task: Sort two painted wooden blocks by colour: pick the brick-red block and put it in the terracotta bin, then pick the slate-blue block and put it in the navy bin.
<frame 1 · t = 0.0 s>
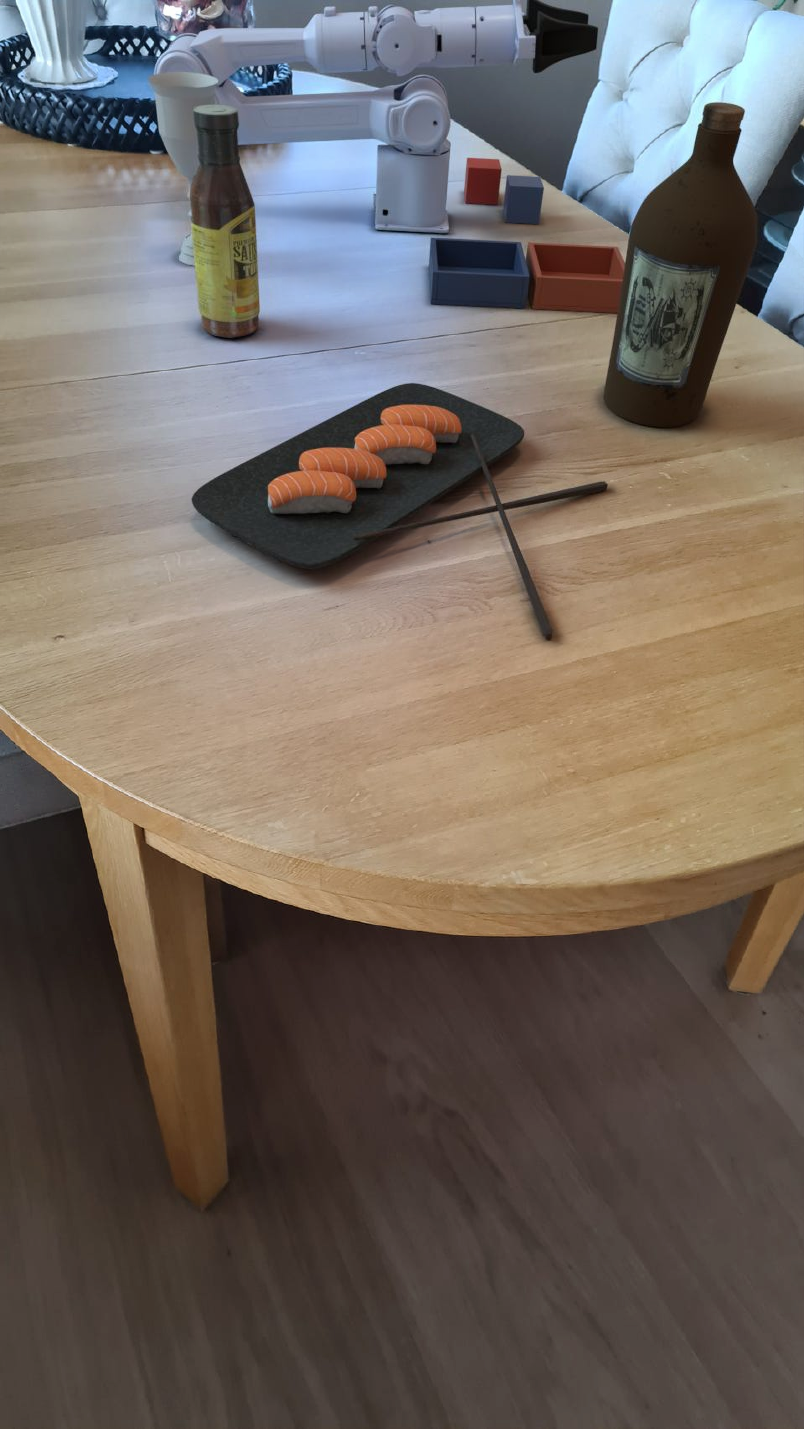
hand: (592, 31, 112), 22 cm above the table, tool horizontal, fingers open, 7 cm apart
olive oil: (649, 406, 93), on the table
red bin: (573, 292, 112), on the table
blue bin: (475, 287, 112), on the table
chalice: (200, 259, 114), on the table
sauce bottle: (231, 329, 101), on the table
red block: (480, 199, 134), on the table
sushi plate: (440, 519, 78), on the table
blue block: (520, 217, 130), on the table
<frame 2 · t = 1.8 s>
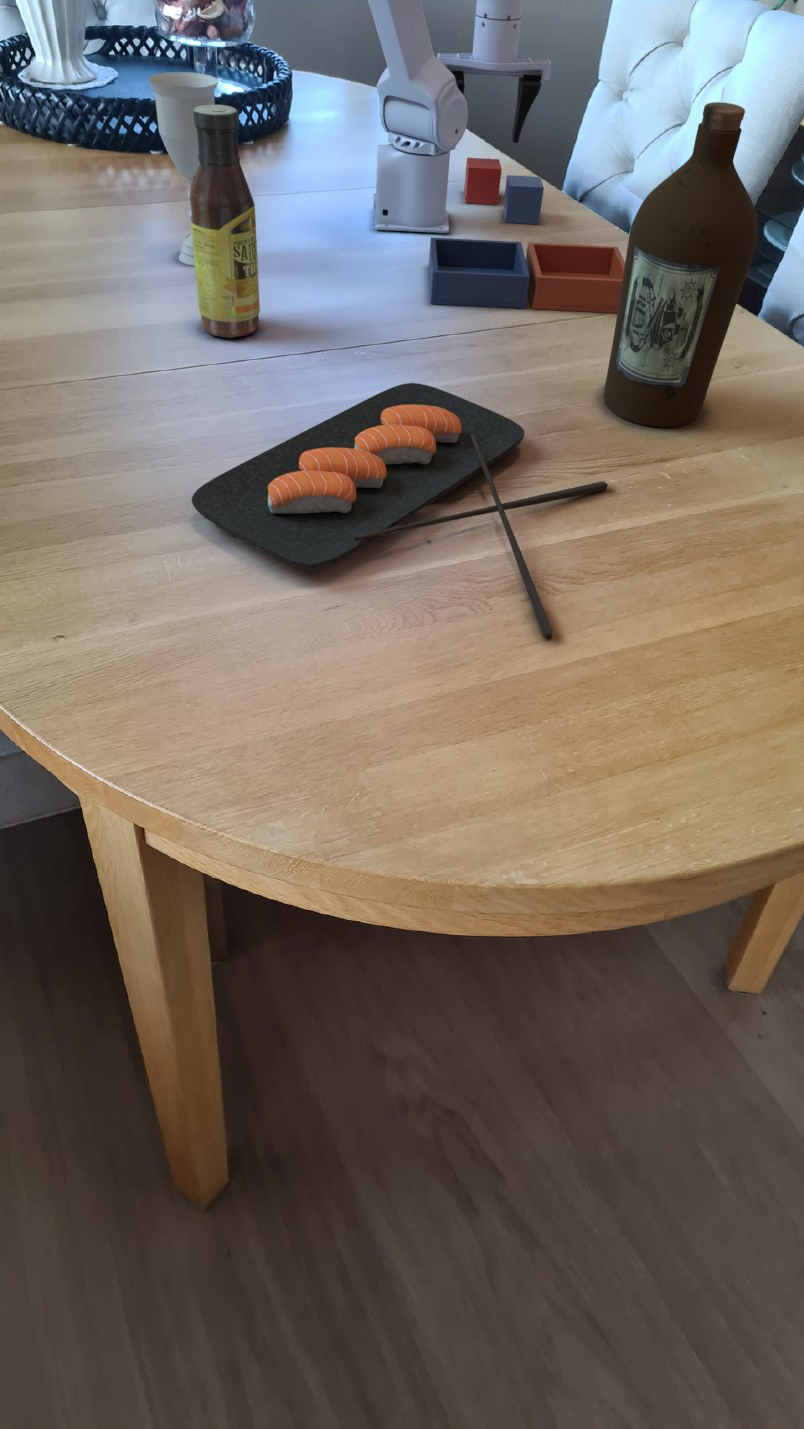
hand: (486, 139, 129), 7 cm above the table, tool pointing down, fingers open, 7 cm apart
nothing on the table moved.
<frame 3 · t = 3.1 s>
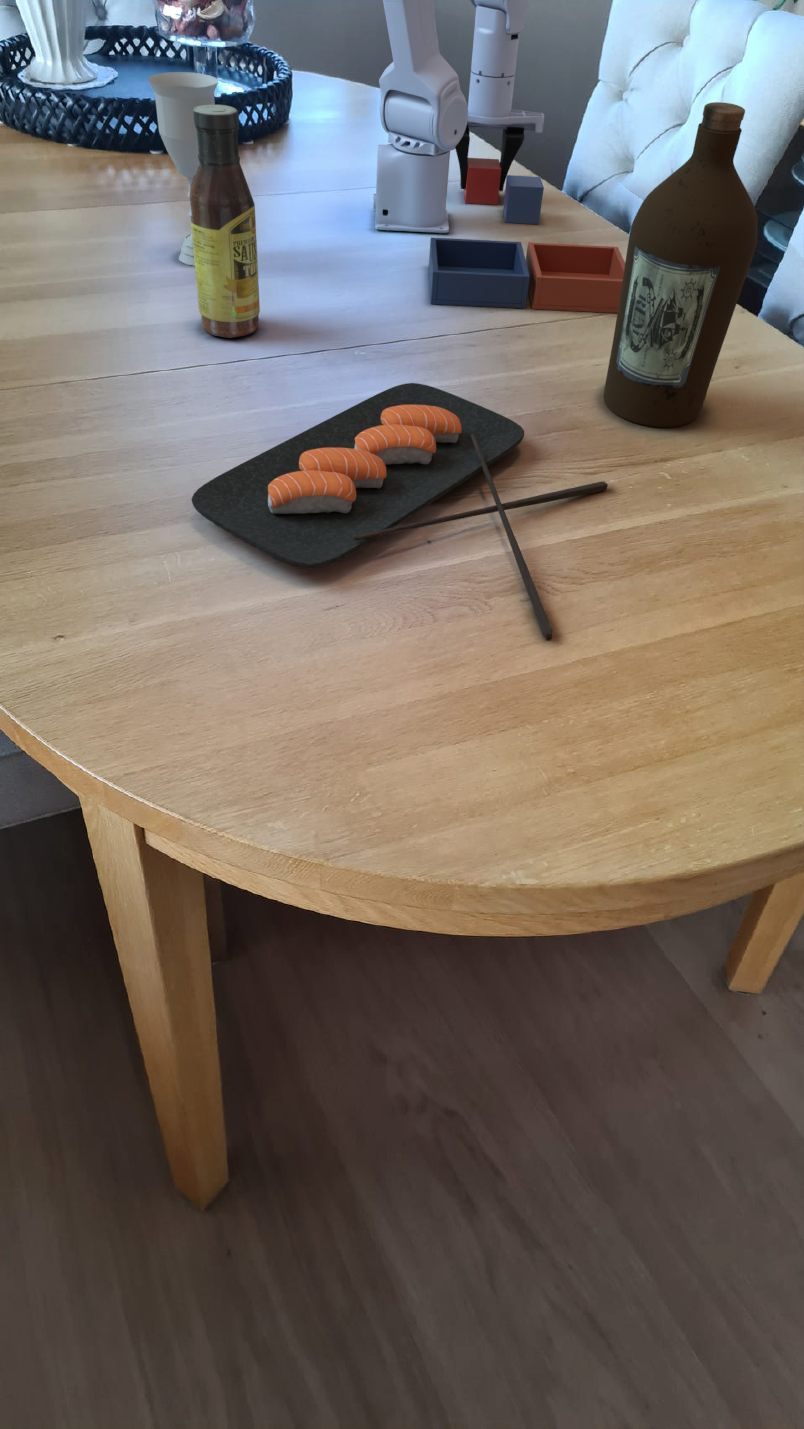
hand: (481, 188, 133), 1 cm above the table, tool pointing down, fingers closed on red block, 4 cm apart
red block: (480, 199, 134), on the table, touching gripper
everything else where it was.
when the fingers open (2 cm above the table, at t = 9.0 s): red block stays where it is, resting on red bin.
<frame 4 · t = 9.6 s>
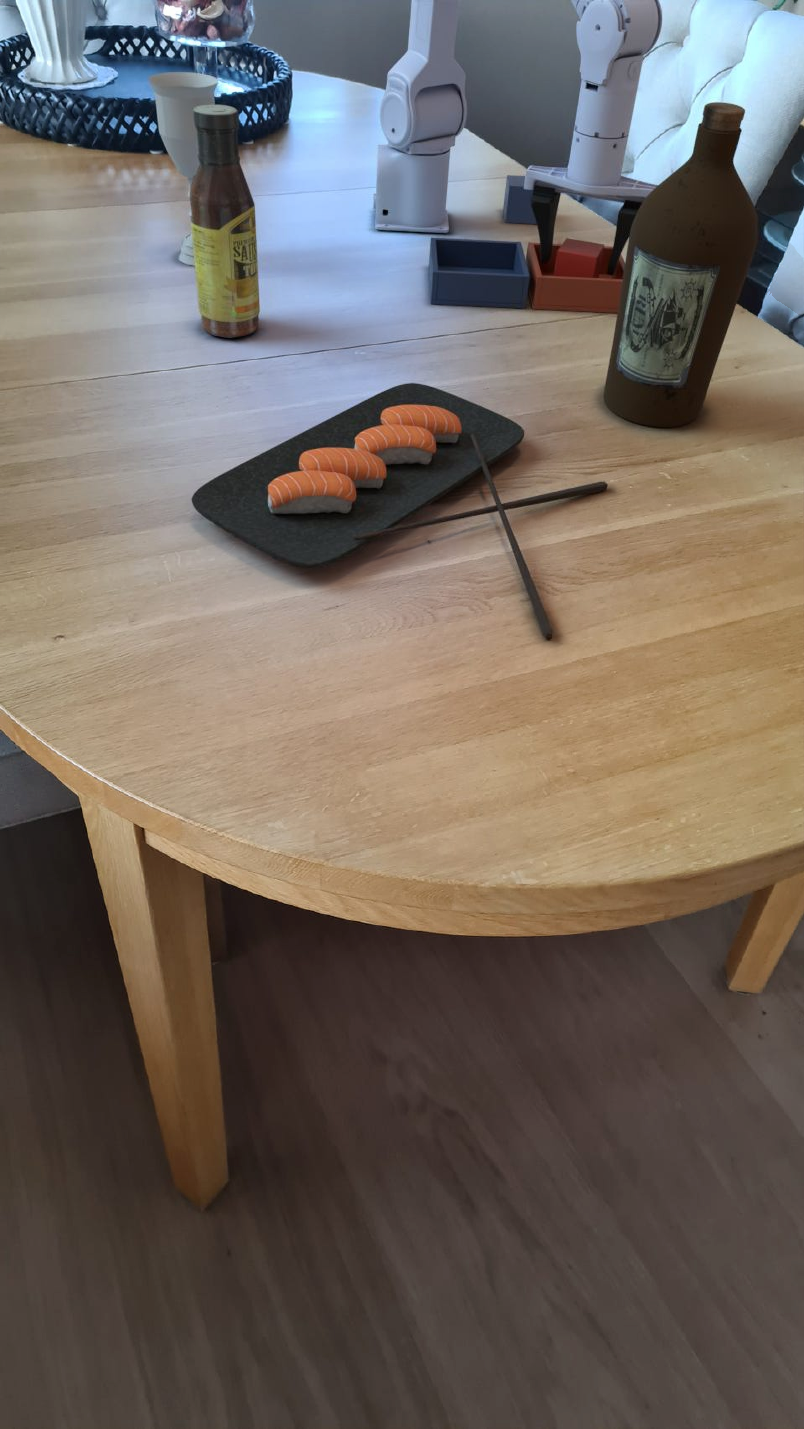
hand: (578, 266, 110), 3 cm above the table, tool pointing down, fingers open, 7 cm apart
red block: (574, 288, 112), resting on red bin
everything else where it was.
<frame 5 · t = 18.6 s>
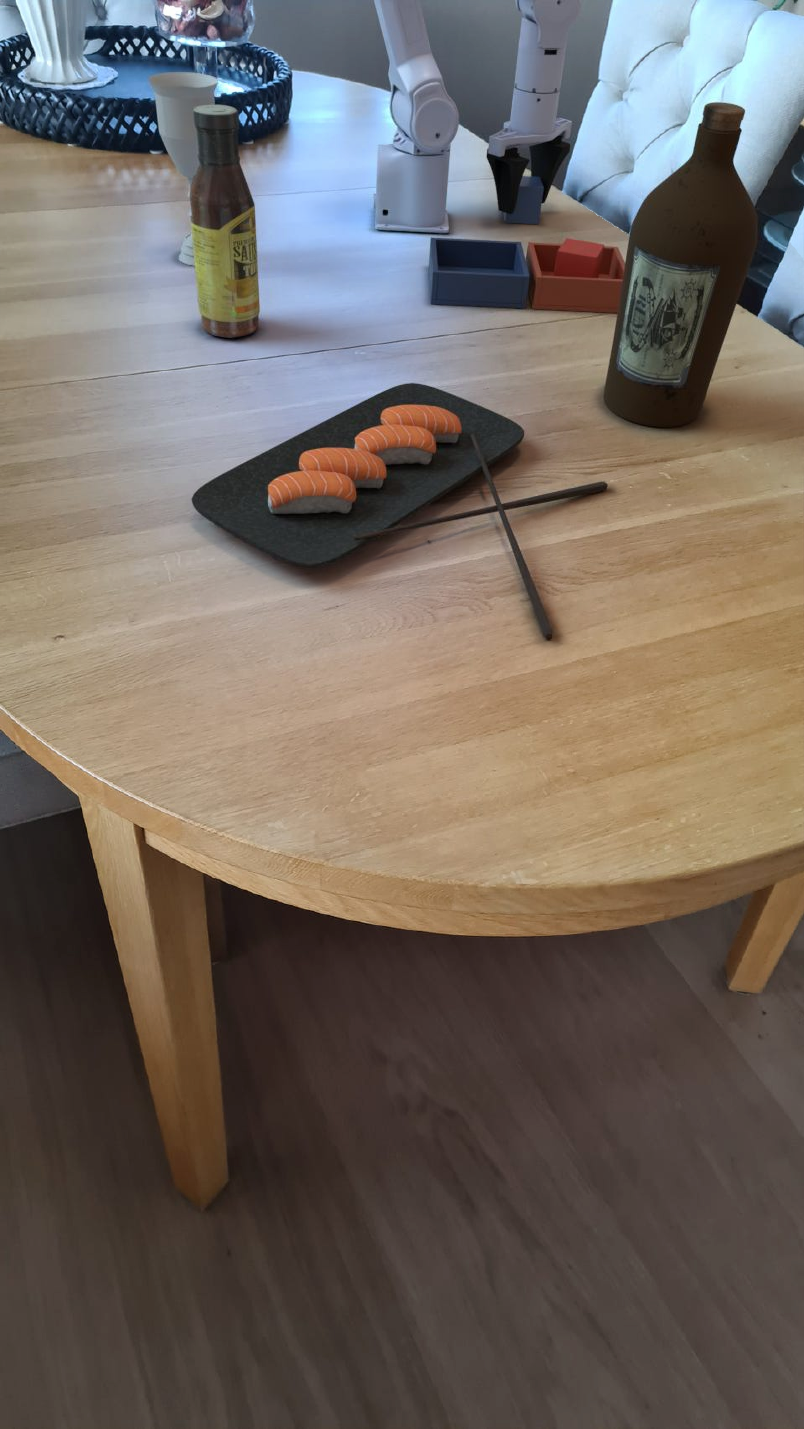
hand: (522, 206, 129), 1 cm above the table, tool pointing down, fingers closed on blue block, 6 cm apart
blue block: (520, 218, 130), on the table, touching gripper
everything else where it was.
when the fingers open (2 cm above the table, at t = 24.2 s): blue block stays where it is, resting on blue bin.
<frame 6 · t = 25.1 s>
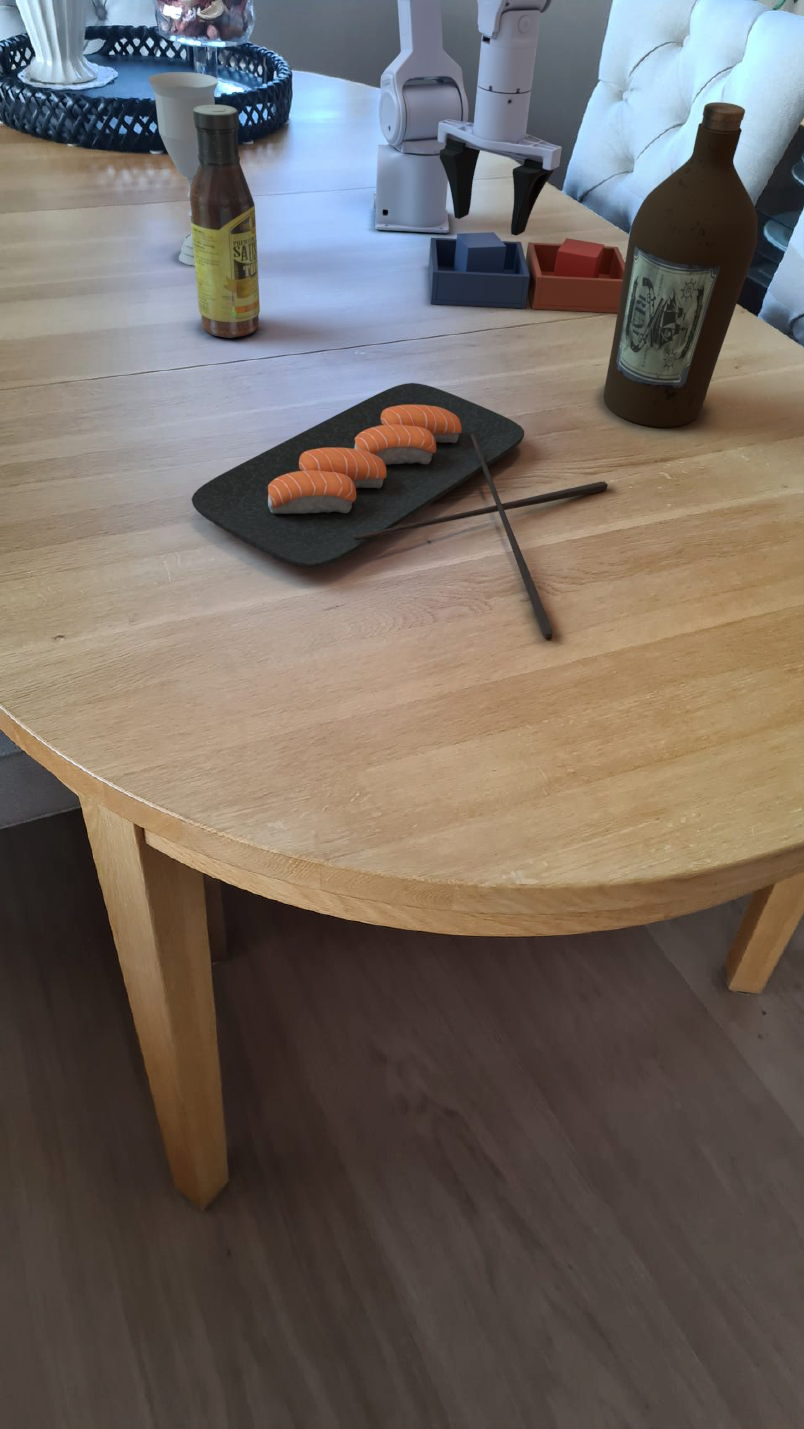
hand: (489, 224, 111), 6 cm above the table, tool pointing down, fingers open, 7 cm apart
blue block: (477, 280, 112), resting on blue bin
everything else where it was.
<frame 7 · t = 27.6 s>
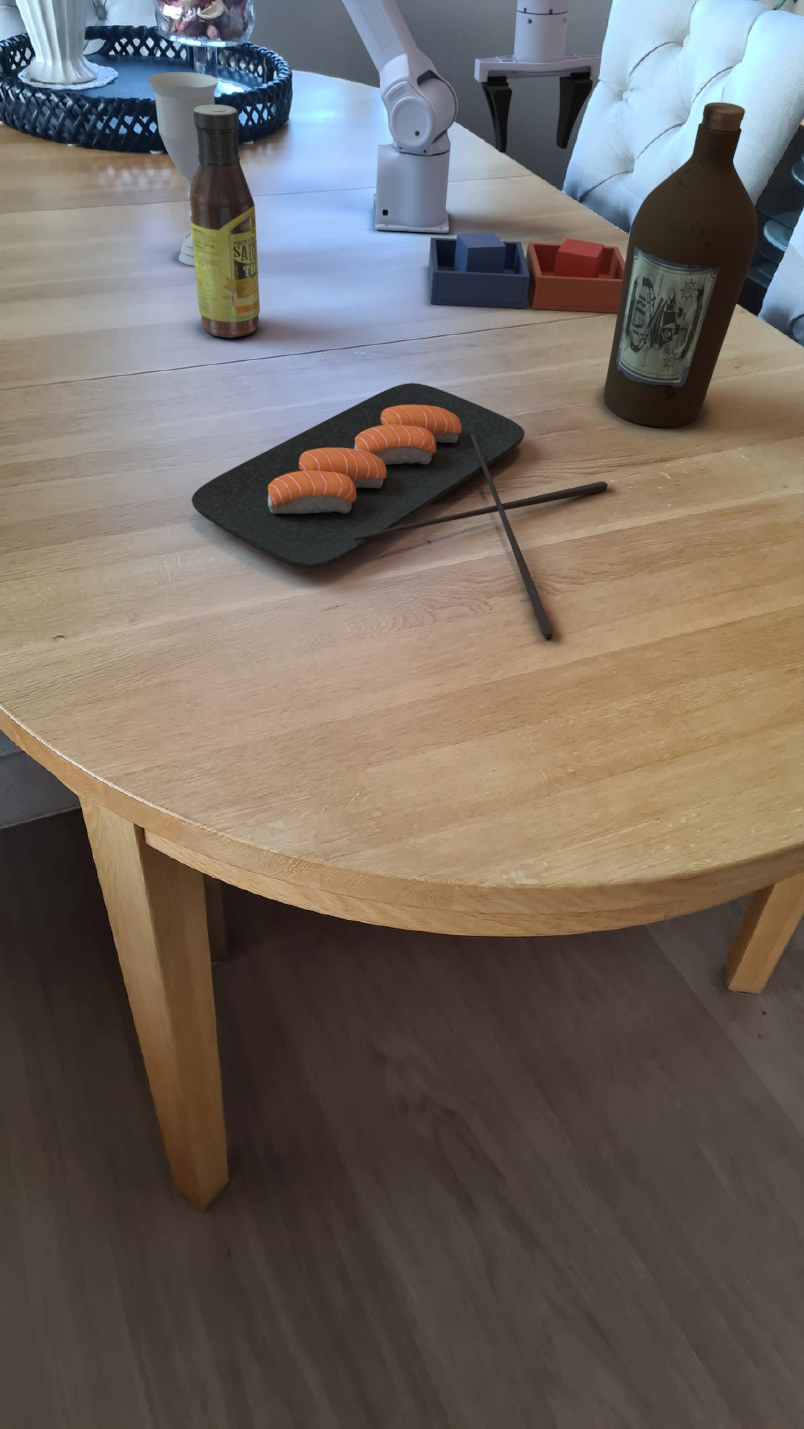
hand: (531, 148, 116), 10 cm above the table, tool pointing down, fingers open, 7 cm apart
nothing on the table moved.
at the end: red block inside the target area in the red bin (0.1 cm from its centre), point 0.5 cm above the red bin's base; blue block inside the target area in the blue bin (0.9 cm from its centre), point 0.5 cm above the blue bin's base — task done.
